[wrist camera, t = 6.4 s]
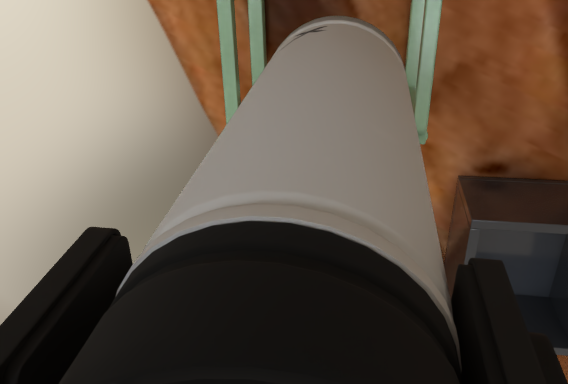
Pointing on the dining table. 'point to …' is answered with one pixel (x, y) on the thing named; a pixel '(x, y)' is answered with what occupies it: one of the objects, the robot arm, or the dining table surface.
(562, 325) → the dark grey storage box
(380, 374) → the travel mug
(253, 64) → the rack
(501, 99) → the dining table surface
